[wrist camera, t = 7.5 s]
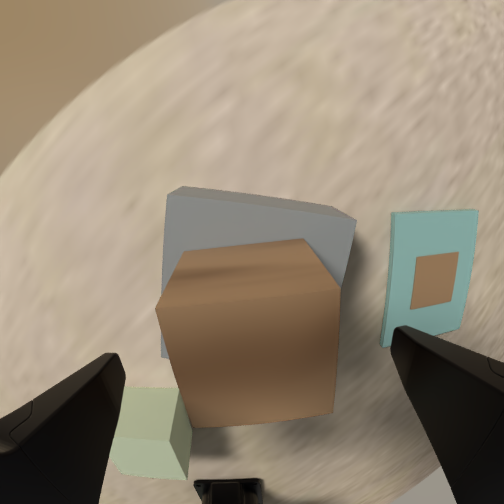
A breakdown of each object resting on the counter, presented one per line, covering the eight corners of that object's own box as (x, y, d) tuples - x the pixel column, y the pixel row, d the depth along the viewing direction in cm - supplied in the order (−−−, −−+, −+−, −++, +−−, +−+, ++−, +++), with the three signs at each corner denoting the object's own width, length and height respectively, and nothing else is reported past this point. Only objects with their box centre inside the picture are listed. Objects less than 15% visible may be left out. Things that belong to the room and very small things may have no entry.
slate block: (302, 331, 19) (317, 371, 15) (174, 318, 18) (161, 357, 14) (330, 205, 16) (356, 220, 13) (183, 185, 16) (167, 194, 12)
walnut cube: (306, 338, 14) (332, 412, 10) (203, 349, 14) (192, 427, 9) (303, 238, 13) (340, 288, 8) (184, 251, 13) (155, 308, 8)
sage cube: (192, 430, 21) (187, 480, 16) (134, 427, 21) (121, 473, 16) (179, 387, 20) (169, 440, 15) (115, 385, 19) (94, 433, 15)
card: (456, 325, 19) (460, 329, 19) (379, 343, 19) (383, 348, 19) (473, 209, 17) (479, 211, 16) (391, 212, 16) (396, 214, 16)
